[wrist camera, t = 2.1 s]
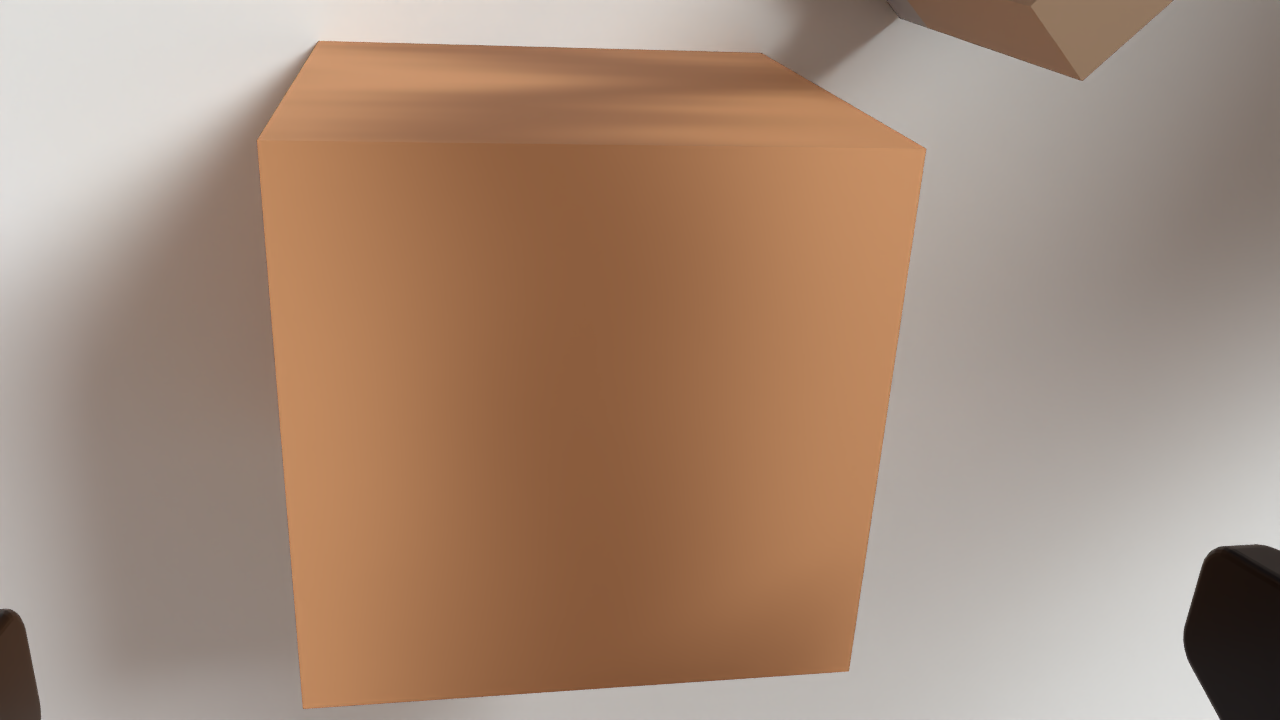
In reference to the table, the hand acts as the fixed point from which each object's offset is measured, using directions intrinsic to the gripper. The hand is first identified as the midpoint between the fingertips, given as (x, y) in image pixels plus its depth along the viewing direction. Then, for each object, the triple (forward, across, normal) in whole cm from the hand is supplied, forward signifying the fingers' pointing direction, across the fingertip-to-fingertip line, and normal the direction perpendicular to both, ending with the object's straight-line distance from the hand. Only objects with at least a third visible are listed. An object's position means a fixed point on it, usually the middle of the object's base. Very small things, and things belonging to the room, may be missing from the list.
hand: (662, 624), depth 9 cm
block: (+9, 0, 0) cm, 9 cm away
